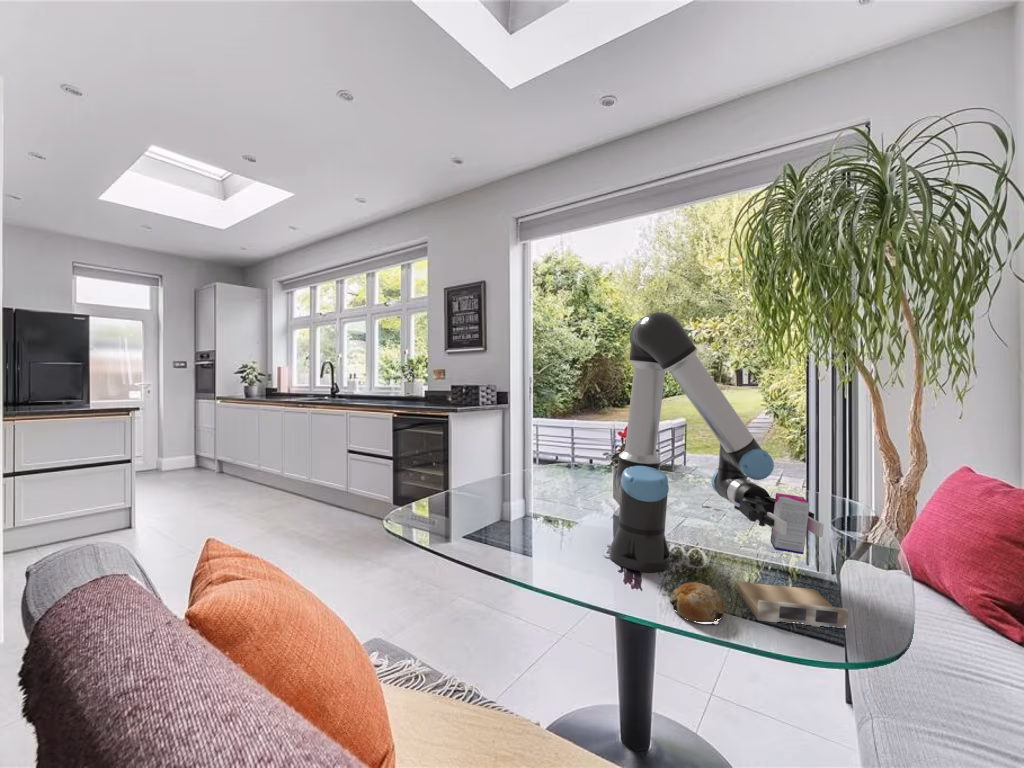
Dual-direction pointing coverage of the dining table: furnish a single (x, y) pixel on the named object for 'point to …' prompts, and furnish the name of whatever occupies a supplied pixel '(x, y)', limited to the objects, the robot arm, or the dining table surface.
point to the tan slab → (790, 605)
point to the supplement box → (791, 523)
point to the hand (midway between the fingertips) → (803, 529)
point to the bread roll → (697, 602)
